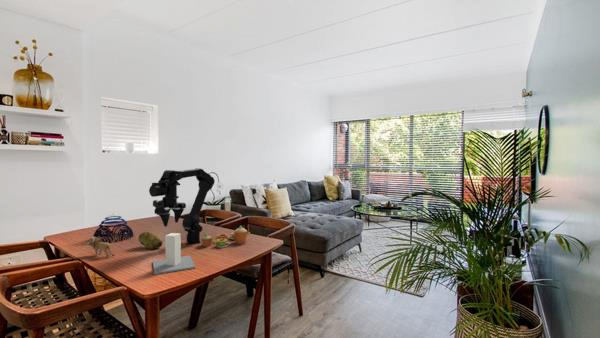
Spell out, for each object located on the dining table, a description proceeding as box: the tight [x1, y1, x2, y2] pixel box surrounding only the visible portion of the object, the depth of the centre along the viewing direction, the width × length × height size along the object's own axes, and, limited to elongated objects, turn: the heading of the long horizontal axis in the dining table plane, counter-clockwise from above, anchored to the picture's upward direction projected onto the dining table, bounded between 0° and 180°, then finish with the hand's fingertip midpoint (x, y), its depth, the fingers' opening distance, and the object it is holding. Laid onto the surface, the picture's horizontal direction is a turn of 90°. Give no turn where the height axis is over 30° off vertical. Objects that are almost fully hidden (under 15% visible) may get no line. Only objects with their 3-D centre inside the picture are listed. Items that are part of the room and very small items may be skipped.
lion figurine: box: [86, 236, 116, 259], centre depth 145 cm, size 15×5×9 cm, turn 77°
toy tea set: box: [200, 225, 251, 249], centre depth 167 cm, size 26×16×10 cm, turn 133°
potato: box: [138, 231, 163, 250], centre depth 158 cm, size 8×13×8 cm, turn 55°
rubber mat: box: [152, 255, 196, 276], centre depth 133 cm, size 16×16×1 cm
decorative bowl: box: [92, 212, 134, 244], centre depth 175 cm, size 20×20×14 cm
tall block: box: [164, 232, 182, 266], centre depth 133 cm, size 4×4×13 cm
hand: (171, 224), depth 155 cm, fingers open, 9 cm apart
